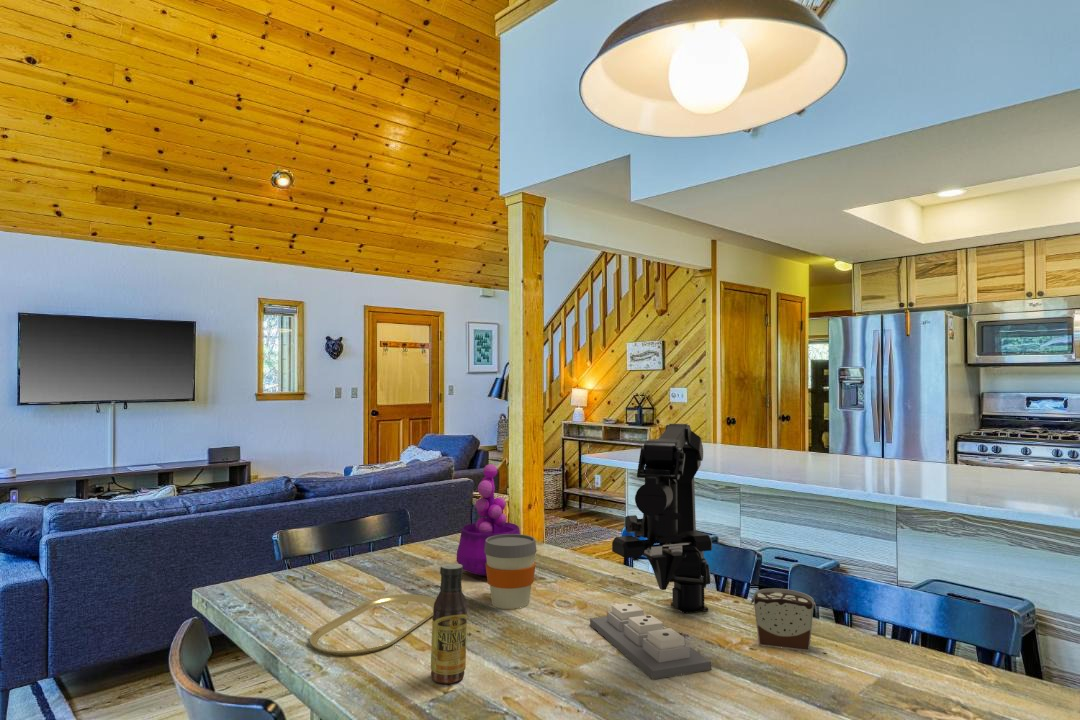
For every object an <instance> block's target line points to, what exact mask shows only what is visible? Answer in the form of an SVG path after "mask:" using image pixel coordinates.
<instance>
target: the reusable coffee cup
mask: <svg viewBox="0 0 1080 720" xmlns="http://www.w3.org/2000/svg"><path fill="white" fill-rule="evenodd" d="M536 541H537V540H536V538H535V537H534V536H532V535H526V534H521V533H520V534H503V535H495V536H491V537H489V538H487V539H486V540H485V550H484V553H485V554H486V559H487V562H486V564H485V565H486V573H487V576H486V579H487V584H488V585H489V591H490V596H491V604H492V606H493V607H495V608H497V609H502V610H516V609H515V608H518V609H521V608H520V607H523V608H525V607H527V606H529V604H530V600H531V599H530V598H531V593H532V592H531V591H532V585H533V583H534V579H535V571H536V564H537V563H536V561H535V557H536V553H537V550H538V549H537V542H536ZM526 605H527V606H526ZM524 606H525V607H524Z"/></svg>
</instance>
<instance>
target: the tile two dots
mask: <svg viewBox="0 0 1080 720" xmlns="http://www.w3.org/2000/svg"><path fill="white" fill-rule="evenodd" d="M611 611H612V614H613V615H614V616H616V617H617V618H618V619H620V620H621V621H624V620H629V618H630V617H637V616H644V615H645V614H644V613H645V612H644V609H643V608H641V607H640V606H638V605H637V604H635V603H634V602H626V603H617V604H611Z"/></svg>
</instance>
